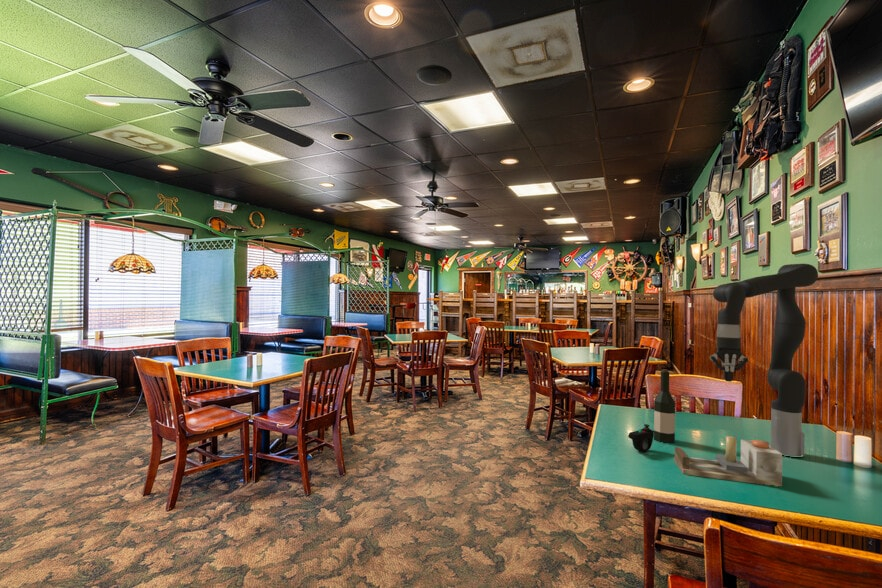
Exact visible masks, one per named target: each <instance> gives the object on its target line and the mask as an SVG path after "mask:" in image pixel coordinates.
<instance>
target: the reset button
mask: <svg viewBox="0 0 882 588" xmlns="http://www.w3.org/2000/svg"><path fill="white" fill-rule="evenodd" d="M752 445H753V446H755V447H759V448H765V449H767V448H769V445H770V443H769V442H768V441H765V440H762V439H752Z"/></svg>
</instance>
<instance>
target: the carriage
mask: <svg viewBox="0 0 882 588" xmlns="http://www.w3.org/2000/svg"><path fill="white" fill-rule="evenodd" d="M737 443H738V442H737V437H735V436H732V435H726V436H725V454H717V453H716V454H715V455H714V456H715V459H714V460H717V461H718V462H719V463H720V464H721V465H722V466H723V467H724V468H725V469H726V470H731V471H739V472H747V473H748V468H747V467H746V466H745V465H744V464H743V463H742V462H741V460H740V459H738V458H737Z"/></svg>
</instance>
